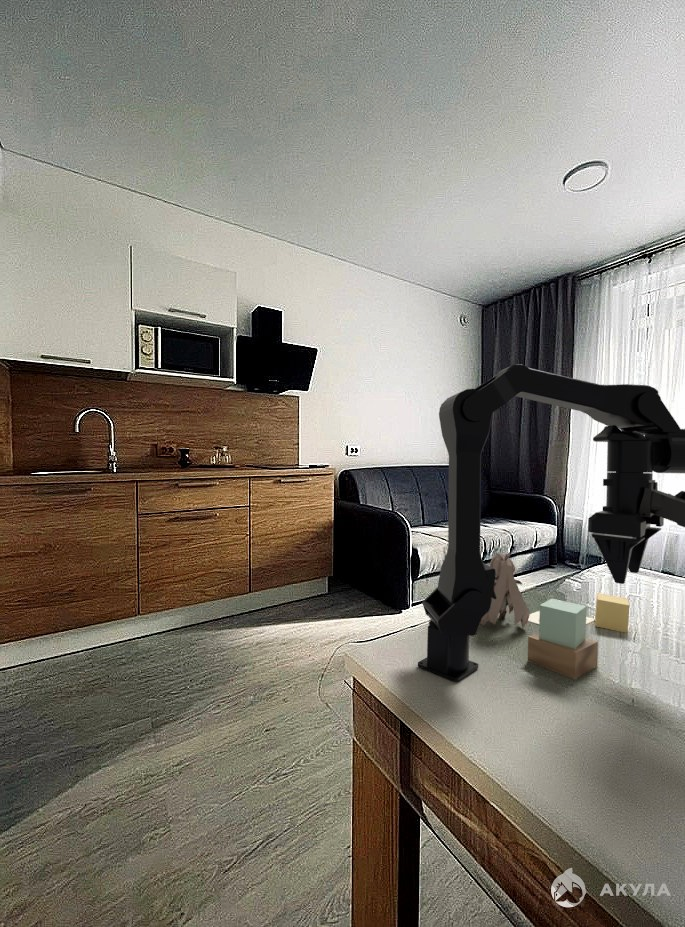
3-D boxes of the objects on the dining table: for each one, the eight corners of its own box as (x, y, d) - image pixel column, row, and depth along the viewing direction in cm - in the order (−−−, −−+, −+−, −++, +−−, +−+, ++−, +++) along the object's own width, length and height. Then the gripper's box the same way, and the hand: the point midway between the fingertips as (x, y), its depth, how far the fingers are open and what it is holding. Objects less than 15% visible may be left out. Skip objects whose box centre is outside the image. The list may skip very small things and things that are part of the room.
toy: (517, 612, 88) (525, 543, 83) (529, 641, 80) (540, 567, 75) (470, 609, 89) (476, 541, 84) (478, 638, 81) (485, 564, 76)
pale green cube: (575, 648, 63) (576, 613, 63) (538, 638, 67) (539, 605, 67) (585, 639, 67) (586, 606, 67) (550, 630, 70) (551, 598, 70)
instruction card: (566, 633, 79) (566, 632, 79) (519, 618, 86) (519, 617, 86) (596, 620, 86) (596, 619, 86) (550, 607, 93) (550, 606, 93)
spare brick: (627, 633, 80) (629, 605, 80) (595, 626, 82) (597, 599, 82) (625, 624, 84) (627, 598, 84) (594, 618, 87) (596, 592, 87)
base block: (575, 681, 62) (575, 652, 62) (527, 663, 67) (528, 636, 67) (597, 668, 66) (597, 641, 66) (550, 651, 72) (551, 627, 72)
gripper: (689, 474, 54) (687, 603, 54) (705, 474, 67) (703, 577, 67) (587, 472, 62) (585, 585, 62) (620, 472, 75) (618, 564, 75)
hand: (627, 577), depth 66 cm, fingers open, 9 cm apart
